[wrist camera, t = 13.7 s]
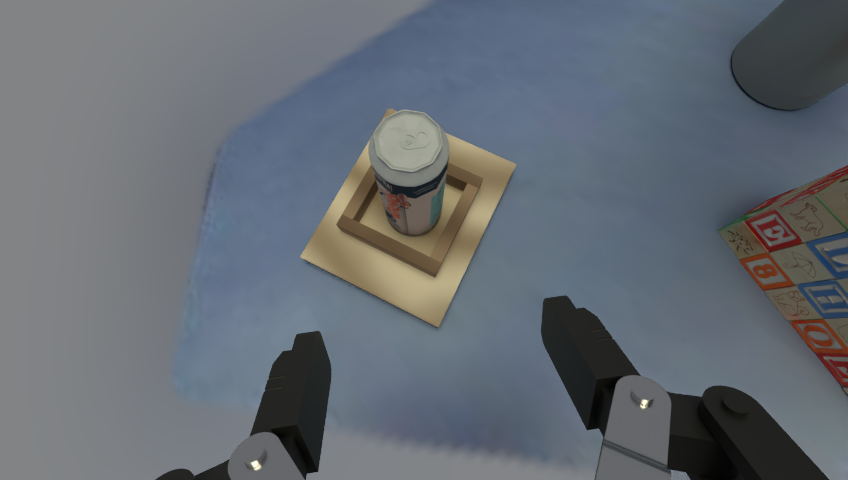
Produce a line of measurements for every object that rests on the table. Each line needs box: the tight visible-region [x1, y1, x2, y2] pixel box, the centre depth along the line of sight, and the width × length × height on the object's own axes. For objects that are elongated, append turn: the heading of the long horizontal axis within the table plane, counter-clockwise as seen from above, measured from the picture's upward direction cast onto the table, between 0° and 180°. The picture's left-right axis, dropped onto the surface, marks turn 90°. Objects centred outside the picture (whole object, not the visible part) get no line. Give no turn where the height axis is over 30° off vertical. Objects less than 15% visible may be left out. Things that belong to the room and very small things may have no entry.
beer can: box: [368, 110, 449, 236], centre depth 27 cm, size 5×5×12 cm
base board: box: [300, 108, 516, 328], centre depth 33 cm, size 16×13×4 cm
